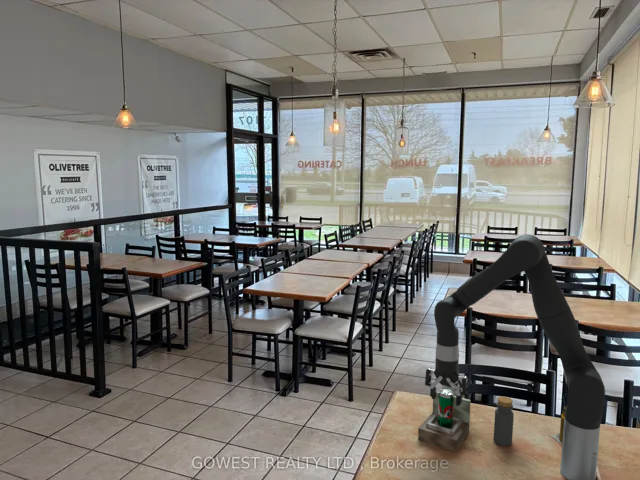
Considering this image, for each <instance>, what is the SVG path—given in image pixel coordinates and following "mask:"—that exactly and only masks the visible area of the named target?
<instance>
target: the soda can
mask: <svg viewBox="0 0 640 480" xmlns="http://www.w3.org/2000/svg"><path fill="white" fill-rule="evenodd" d="M439 392H440V393H439V396H438V421H437V423H438V425H439V426H441V427H444V428H450V427H451V426H452V425H453V406H454V395H453V392H452V391H451V390H447V389H442V388H441V389H440V391H439Z"/></svg>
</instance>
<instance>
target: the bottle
mask: <svg viewBox="0 0 640 480" xmlns="http://www.w3.org/2000/svg"><path fill="white" fill-rule="evenodd" d="M513 402H514V400H513V399H512V398H511V397H508V396H503V395H502V396H498V397H497V402H496V408H495V411H494V423H493V425H494V426H493V442H494V443H495V444H497V445H499V446H503V447H508V446H511V445H512V444H513V432H514V417H515V415H514V412H513V409H514V405H513Z"/></svg>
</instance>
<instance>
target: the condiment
mask: <svg viewBox="0 0 640 480" xmlns="http://www.w3.org/2000/svg"><path fill="white" fill-rule="evenodd" d="M566 407H567V405H564V406H563V407H562V414H560V415H561V416H560V424H559V426H560V428H559V433H556V434H550V435H549V436H550V437H551V438H553V439H554V440H555V441H557V442H558V443H559V444H560V445H562V443H563V430H564V418H565V410H566ZM559 437H560V438H559Z"/></svg>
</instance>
